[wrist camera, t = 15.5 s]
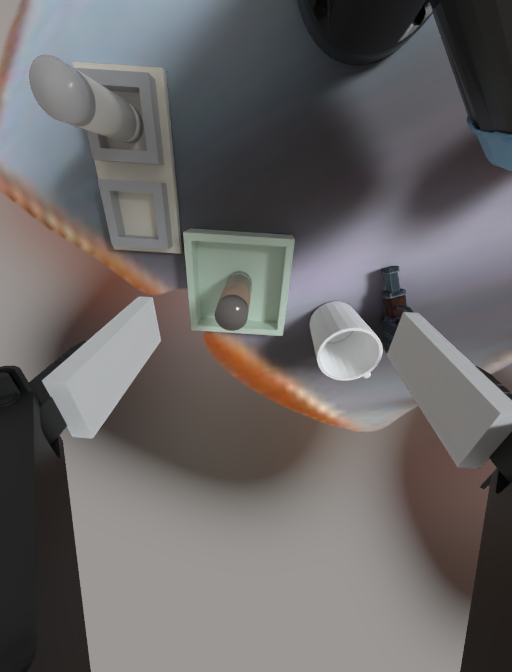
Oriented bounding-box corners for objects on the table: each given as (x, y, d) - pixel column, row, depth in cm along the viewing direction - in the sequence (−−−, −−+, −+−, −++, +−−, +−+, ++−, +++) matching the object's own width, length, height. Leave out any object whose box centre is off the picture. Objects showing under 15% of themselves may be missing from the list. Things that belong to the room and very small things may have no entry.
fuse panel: (78, 65, 29) (59, 53, 26) (166, 71, 29) (156, 59, 26) (117, 248, 39) (106, 252, 36) (182, 252, 39) (176, 256, 36)
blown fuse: (227, 269, 39) (213, 299, 29) (252, 271, 39) (248, 301, 29) (227, 294, 41) (214, 329, 31) (251, 295, 41) (247, 332, 31)
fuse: (106, 99, 29) (20, 51, 19) (140, 101, 29) (73, 55, 19) (114, 142, 31) (40, 120, 21) (146, 144, 31) (88, 123, 21)
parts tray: (190, 228, 37) (183, 232, 34) (292, 234, 37) (295, 239, 34) (196, 319, 45) (191, 330, 41) (281, 325, 45) (282, 336, 41)
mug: (296, 319, 44) (304, 352, 35) (341, 287, 41) (362, 314, 32) (330, 358, 48) (345, 397, 39) (374, 332, 45) (400, 368, 36)
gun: (456, 265, 25) (467, 397, 29) (389, 264, 41) (401, 349, 45) (427, 272, 26) (442, 401, 29) (372, 269, 42) (385, 353, 45)
